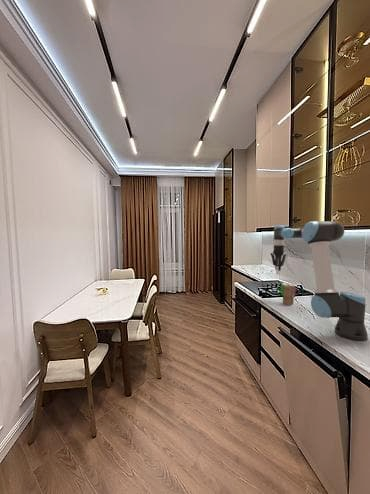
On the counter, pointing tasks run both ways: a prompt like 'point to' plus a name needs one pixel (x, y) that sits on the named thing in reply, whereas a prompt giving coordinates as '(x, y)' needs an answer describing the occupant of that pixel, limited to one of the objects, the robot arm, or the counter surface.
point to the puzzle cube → (285, 285)
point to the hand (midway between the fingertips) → (277, 274)
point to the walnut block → (288, 295)
